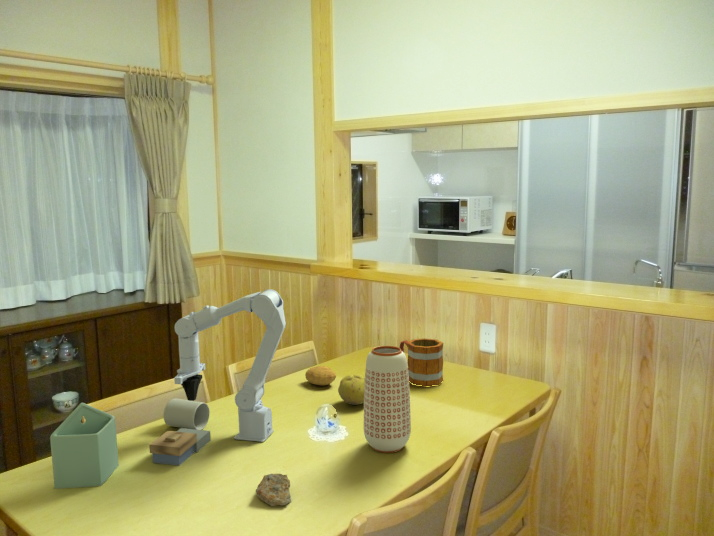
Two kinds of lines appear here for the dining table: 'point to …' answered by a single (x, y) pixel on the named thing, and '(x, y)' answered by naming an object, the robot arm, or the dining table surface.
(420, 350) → the mug
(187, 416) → the mug
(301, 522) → the dining table surface
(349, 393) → the fruit
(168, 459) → the blue open tray
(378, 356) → the vase
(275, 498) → the rock
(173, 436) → the lid
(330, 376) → the potato
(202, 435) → the stand
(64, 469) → the planter
